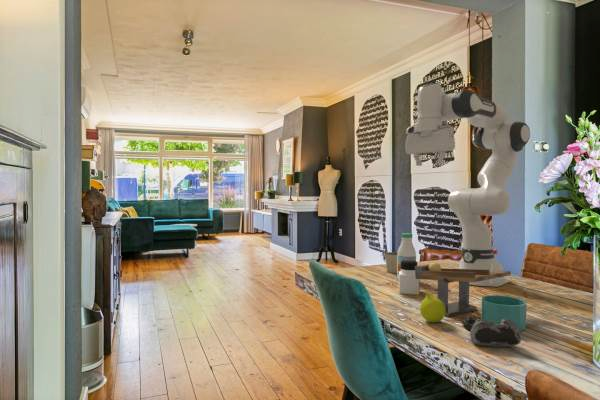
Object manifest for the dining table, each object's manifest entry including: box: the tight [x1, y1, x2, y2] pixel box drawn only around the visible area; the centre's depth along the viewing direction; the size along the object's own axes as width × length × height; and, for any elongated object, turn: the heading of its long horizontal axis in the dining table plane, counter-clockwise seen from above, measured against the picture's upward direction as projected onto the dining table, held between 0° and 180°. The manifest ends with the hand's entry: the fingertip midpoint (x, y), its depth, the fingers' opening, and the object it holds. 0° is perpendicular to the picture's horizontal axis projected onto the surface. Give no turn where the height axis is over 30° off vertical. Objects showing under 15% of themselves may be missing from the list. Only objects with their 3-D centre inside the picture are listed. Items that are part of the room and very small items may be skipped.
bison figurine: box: [461, 315, 522, 348], centre depth 103 cm, size 12×7×10 cm
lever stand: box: [436, 280, 478, 318], centre depth 129 cm, size 14×7×10 cm, turn 123°
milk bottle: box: [396, 232, 417, 282], centre depth 172 cm, size 8×8×20 cm
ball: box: [429, 262, 442, 271], centre depth 135 cm, size 4×4×4 cm
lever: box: [415, 263, 512, 284], centre depth 133 cm, size 19×22×5 cm
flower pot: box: [383, 251, 398, 274], centre depth 191 cm, size 9×9×9 cm
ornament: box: [419, 290, 446, 323], centre depth 118 cm, size 7×7×10 cm
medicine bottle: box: [398, 260, 420, 295], centre depth 153 cm, size 7×7×12 cm
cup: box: [481, 294, 527, 332], centre depth 116 cm, size 11×11×7 cm
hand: (429, 165), depth 151 cm, fingers open, 8 cm apart
